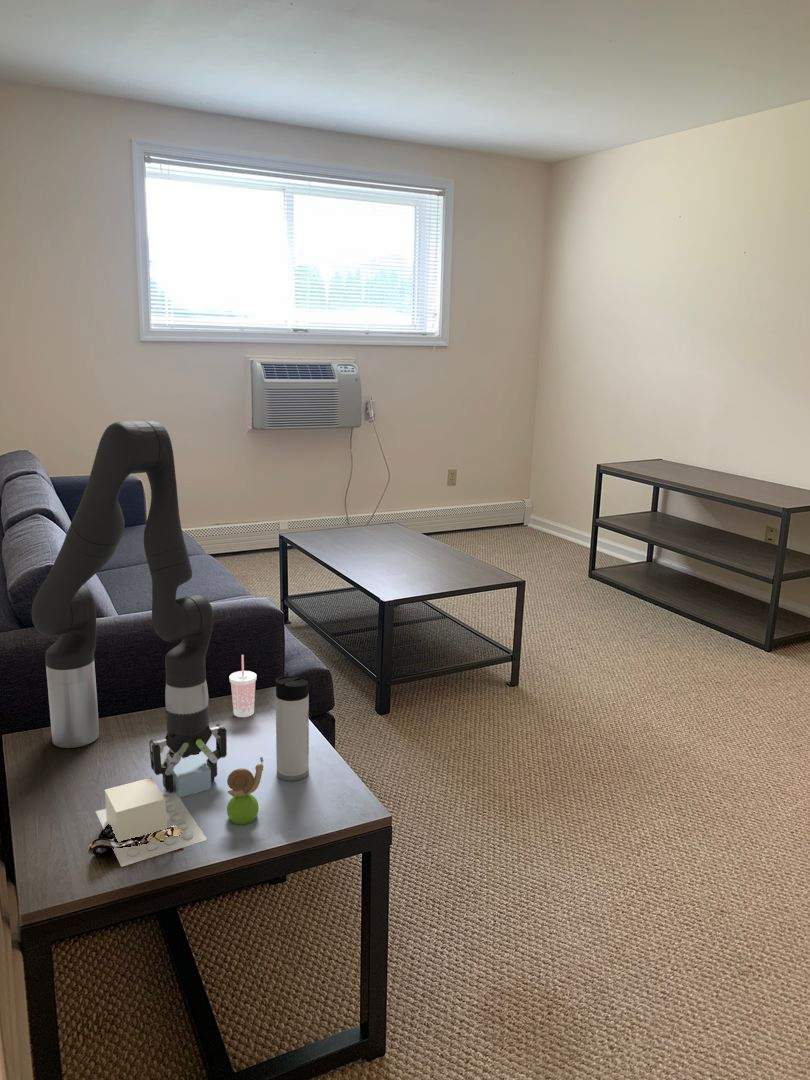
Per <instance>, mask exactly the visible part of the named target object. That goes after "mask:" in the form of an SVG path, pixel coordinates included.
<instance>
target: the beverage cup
mask: <svg viewBox="0 0 810 1080" xmlns="http://www.w3.org/2000/svg"><path fill="white" fill-rule="evenodd" d="M244 657H245V655H244V654H241V670H239V671H234V672H232V673H231V674H230V675H229V683H230V686H231V687H230V689H231V698H232V699H231V701H232V707H233V708H232V711H233V715H234V716H235V717H238V718H248V717H250V716H253V715H254V713H255V702H256V701H255V697H256V681H257V678H258V677H257V673H255V672H253V671H251V670H245V661H244V660H245V659H244Z"/></svg>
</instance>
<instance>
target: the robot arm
mask: <svg viewBox="0 0 810 1080" xmlns="http://www.w3.org/2000/svg"><path fill="white" fill-rule="evenodd" d="M92 463H93V464H92V467H91V470H90V471H91V472H90V474H89V478H88V481H87V484H86V487H85V489H84V492H83V495H82V498H81V500H80V502H79V505H78V507H77V510H76V512H75V513H74V514H73V515H74V516H73V518H72V521H71V522H70V524H69V527H68V530H67V533H66V535H65V538H64V541H63V543H62V545H61V547H60V550H59V552H58V554H57V557H56V558H55V561H54V563H53V565H52V567H51V569H50V570H49V572H48V574H47V576H46V578H45V579H44V581H43V583H42V585H41V586H40V588H39V589H38V591H37V593H36V595H35V597H34V599H33V601H32V606H31V621H32V624H33V626H34V629H36V631H37V632H38V633H40V634H41V635H44V636H47V637H51V636H53V637H54V636H59V635H60V637H59V638H58V639H57V640H56V641H55V642H54V643H53V644H52V645H50V646H49V647H48V649H46V651H45V656H44V660H45V668H46V669H45V670H46V680H47V690H48V691H47V694H48V705H49V718H50V731H51V741H52V744H53V745H54V746H56V747H59V748H65V749H72V748H79V747H85V746H87V745H90V744H92V743H94V742H95V741H97V739H98V738H99V736H100V729H99V728H100V726H99V711H98V709H99V708H98V693H97V682H96V668H95V651H96V647H97V609H96V601H95V598H94V595H93V594H92V592H91V590H90V589H89V588H88V586H87V585H85V584H86V583H87V582H88V581H89V580H90V579H91V578H92V577H94V576H95V575H96V574H97V573H99V571H100V570H102V569H103V567H105V565H107V563H108V562H110V559H112V557H113V556H114V555H115V552H116V550H117V547H118V545H119V544H120V542H121V539H122V538H123V535H124V532H125V524H126V523H125V517H124V514H123V510H122V508H121V507H122V506H121V504H120V502H119V496H120V495H119V494H120V492H121V489H122V487H123V484H124V483H125V481H126V479H127V478H128V477H129V476H130V475H132V474H135V475H136V474H143V473H146V476H147V480H148V482H149V483H148V484H149V486H150V504H149V505H150V506H149V509H148V510H149V511H148V514H147V515H148V516H147V518H146V522H145V525H144V526H145V527H144V531H143V549H144V554H145V557H146V561H147V566H148V569H149V572H150V576H151V585H152V586H151V592H152V593H151V594H152V595H151V597H152V599H151V601H152V602H151V624H152V627H153V629H154V632H155V633H156V635H157V636H158V637H159V638H160V639H161V640H163V641H164V642H167V643H168V642H171V643H172V642H176V641H180V640H181V642H180V643H179V644H178V645H176V646H175V647H173V648H172V649H170V650H169V651H168V652H167V653H166V654H165V658H164V659H165V660H164V665H165V666H164V668H165V691H164V693H165V694H164V697H165V698H164V699H165V716H166V717H165V718H166V735H165V737H164V739H163V738H162V739H160V740H156V739H154V738H153V739H150V740H149V742H148V743H149V755H150V767H151V770H152V771H153V772H154V774H155V775H157V776H158V775H162V785H163V787H164V789H165V792H168V791H169V793H171V792H174V788H173V774H172V771H173V769H174V767H175V765H177V764H178V763H179V761H181V759H186V758H188V757H191V756H198V755H200V753H203V754H204V755H205V756H206V757H207V759H206V765H207V766H208V767H209V768H210V770H211V782H213V781H215V778H216V777H217V776H218V761H219V760H220V759H221V758H222V759H223V758H226V757H227V755H228V753H227V749H228V747H227V729H226V728H225V726H224V725H223V724H222V723H217V724H216V725H215V726H214V727H210V711H209V710H210V709H209V700H210V695H209V690H208V684H207V671H206V669H207V668H206V656H207V652H208V648H209V644H210V641H211V636H212V632H213V628H214V619H215V616H214V610H213V607H212V605H211V603H210V601H209V600H208V599H207V598H206V597H205V596H203V595H201V594H192V595H188V596H185V597H180V598H177V591H178V588H179V587H180V586H181V585H184V584H186V583H187V582H189V581H190V580H192V578H193V577H192V576H193V569H192V565H191V562H190V557H189V554H188V550H187V546H186V543H185V539H184V535H183V529H182V525H181V519H180V518H181V517H180V510H179V508H180V507H179V498H178V488H177V487H178V486H177V476H176V466H175V458H174V450H173V444H172V440H171V437H170V434H169V433H168V430H167V429H166V427H165V426H164V425H162V424H161V423H160V422H158V421H155V420H126V421H116V422H113V423H110V425H108V426H107V427H106V429H105V430H104V432H103V433H102V435H101V438H100V440H99V442H98V446H97V450H96V452H95V456H94V460H93V462H92ZM176 598H177V599H176ZM212 735H213V737H214V738H215V750H214V751H212V750H211V749H210V748H209V746H208V745H207V743H208V742H209V740H210V738H211V737H212ZM166 746H167V747H168V748H169V749H168V750H167V752H166V755H165V759H164V760H163V763H162V759H161V753H163V752H164V748H165V747H166Z"/></svg>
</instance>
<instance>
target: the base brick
mask: <svg viewBox="0 0 810 1080" xmlns="http://www.w3.org/2000/svg"><path fill="white" fill-rule="evenodd" d="M162 793H163V792H162V791H161V790H160V788H159V787H158V785H157V783H156V782H155V780H154V779H153V777H147V778H145V779H140V780H137V781H133V782H128V783H125V784H121V785H117V786H113V787H110V788H106V789H104V799H105V800H104V802H105V803H104V804H105V809H106V818H107V823H108V824H109V825H111V827H112V830H113V833H114V834H115V837H116V839H117V841H118V842H121V841H123V840H127V839H131V838H135V837H140V836H143V835H147V834H150V833H153V832H156V831H159V830H165V829H167V823H166V803H165V797H164V796H163V794H162Z"/></svg>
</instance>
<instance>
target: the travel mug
mask: <svg viewBox="0 0 810 1080" xmlns="http://www.w3.org/2000/svg"><path fill="white" fill-rule="evenodd" d="M309 695H310V693H309V681H308V680H305V679H304V678H301V677H300V676H296V675H285V676H279V677H277V678H276V679H275V741H276V742H275V743H276V744H275V747H276V748H275V749H276V751H275V752H276V753H275V754H276V775H277V777H278V778H279V779H281V780H284V781H289V782H294V781H299V780H303V779H305V778H306V777H307V776H308V774H309V771H310V769H309V768H310V766H309V765H310V763H309V762H310V761H309V760H310V759H309V755H310V753H309V751H310V750H309V749H310V746H309V744H310V743H309V741H310V739H309V738H310V737H309V736H310V735H309V733H310V732H309V731H310V730H309V729H310V728H309V727H310V726H309V725H310V724H309V721H310V720H309V717H310V716H309V715H310V711H309V710H310V709H309V706H310V705H309V704H310V703H309V700H310V699H309V698H310V697H309Z"/></svg>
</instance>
